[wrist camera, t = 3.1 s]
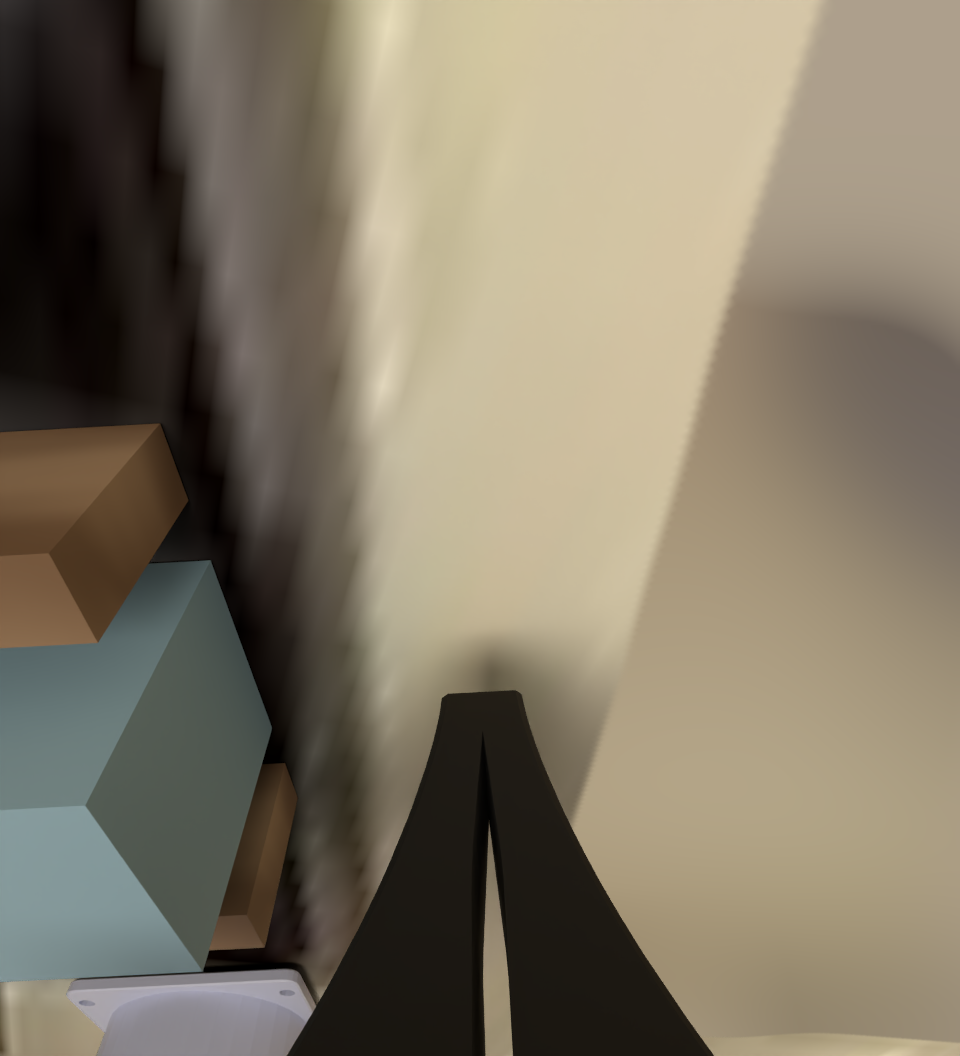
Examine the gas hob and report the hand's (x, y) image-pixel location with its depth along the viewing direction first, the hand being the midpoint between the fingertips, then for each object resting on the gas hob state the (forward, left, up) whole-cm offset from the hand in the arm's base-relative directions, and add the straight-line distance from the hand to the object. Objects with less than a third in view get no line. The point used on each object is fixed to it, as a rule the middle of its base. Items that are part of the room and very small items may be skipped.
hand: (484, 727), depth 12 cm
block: (0, +9, -2) cm, 9 cm away
